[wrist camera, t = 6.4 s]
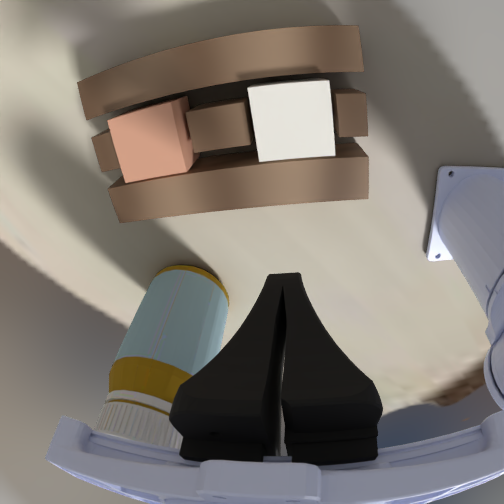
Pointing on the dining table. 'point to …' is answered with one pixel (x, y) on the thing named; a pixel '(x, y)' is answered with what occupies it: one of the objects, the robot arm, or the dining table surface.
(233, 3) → the dining table surface
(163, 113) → the terracotta key
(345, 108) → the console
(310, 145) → the cream key
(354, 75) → the dining table surface
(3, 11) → the dining table surface
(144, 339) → the bottle
